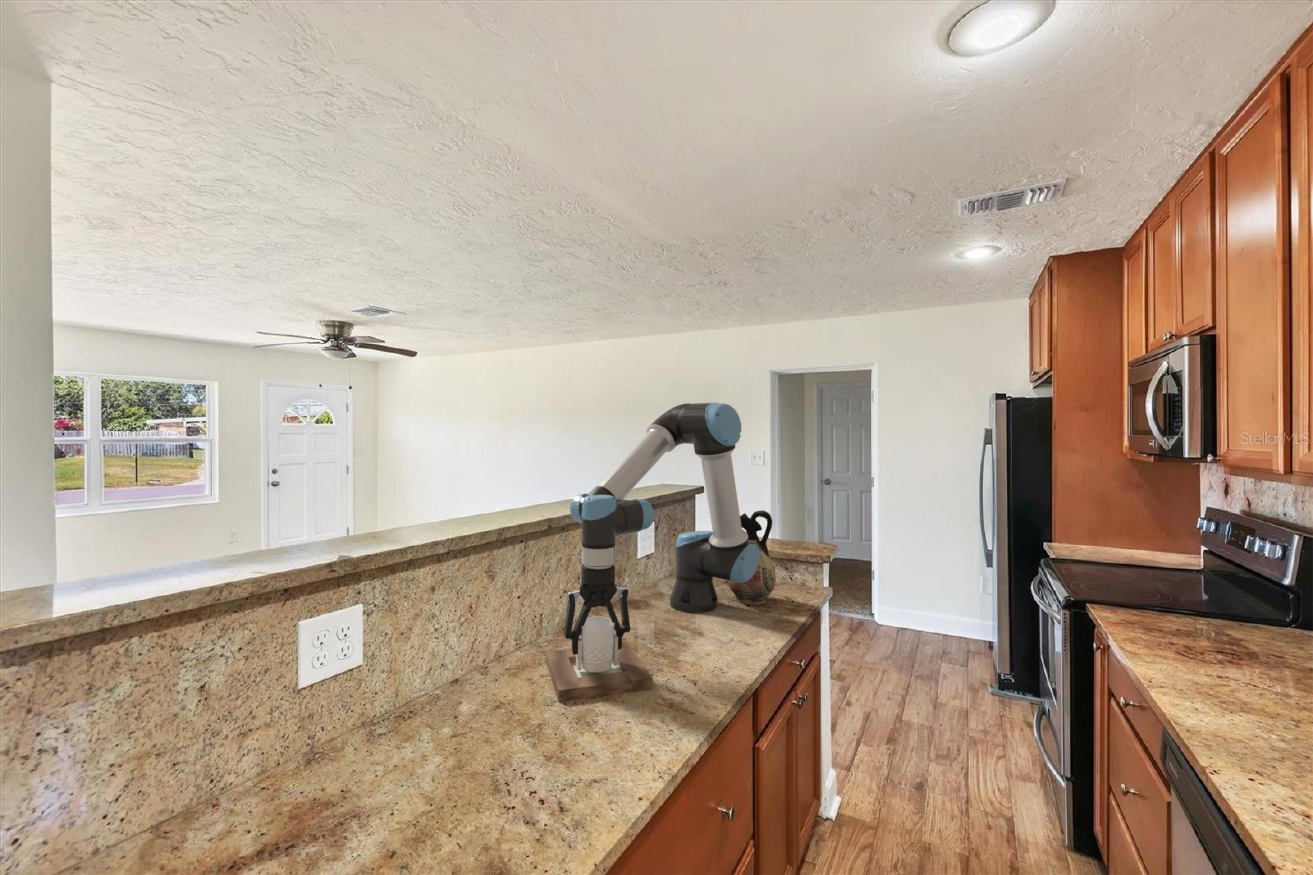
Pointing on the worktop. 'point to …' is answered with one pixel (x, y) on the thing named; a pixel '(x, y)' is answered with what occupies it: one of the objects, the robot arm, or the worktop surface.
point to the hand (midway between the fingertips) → (596, 665)
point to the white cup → (597, 644)
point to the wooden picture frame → (596, 675)
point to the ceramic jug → (765, 573)
